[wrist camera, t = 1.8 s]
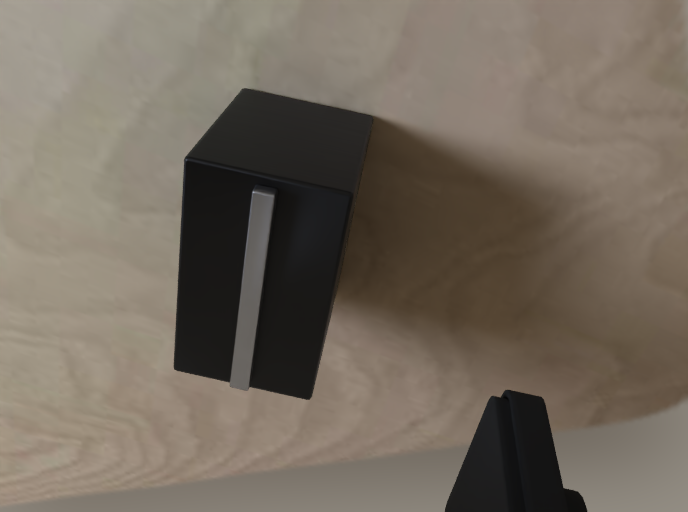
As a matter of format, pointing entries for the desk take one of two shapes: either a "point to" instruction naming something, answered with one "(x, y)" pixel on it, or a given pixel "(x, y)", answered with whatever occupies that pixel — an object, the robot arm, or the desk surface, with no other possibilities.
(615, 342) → the desk surface
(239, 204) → the clip
